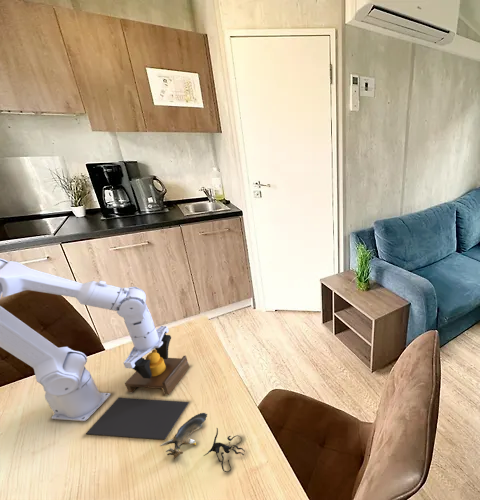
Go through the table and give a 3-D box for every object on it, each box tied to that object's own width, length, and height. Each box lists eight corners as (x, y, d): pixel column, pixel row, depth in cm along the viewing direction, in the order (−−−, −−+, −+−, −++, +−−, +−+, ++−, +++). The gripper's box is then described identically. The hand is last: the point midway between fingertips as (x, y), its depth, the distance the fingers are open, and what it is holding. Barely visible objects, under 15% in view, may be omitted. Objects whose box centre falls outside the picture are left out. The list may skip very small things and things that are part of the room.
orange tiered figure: (144, 376, 81) (137, 358, 78) (155, 364, 85) (148, 347, 82) (159, 377, 81) (152, 359, 78) (169, 365, 85) (163, 347, 82)
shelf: (128, 392, 80) (123, 380, 78) (152, 364, 89) (148, 353, 87) (168, 394, 80) (164, 382, 78) (189, 367, 89) (186, 355, 87)
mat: (86, 434, 69) (85, 433, 69) (119, 398, 78) (118, 397, 78) (164, 440, 68) (164, 439, 68) (188, 402, 77) (188, 401, 77)
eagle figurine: (197, 460, 63) (216, 417, 71) (170, 447, 60) (193, 404, 67) (176, 464, 66) (196, 423, 73) (150, 452, 63) (174, 410, 70)
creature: (250, 440, 69) (217, 434, 69) (252, 426, 67) (218, 420, 67) (237, 476, 62) (201, 470, 62) (239, 462, 60) (201, 456, 60)
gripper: (136, 350, 70) (151, 389, 76) (173, 314, 83) (184, 349, 89) (109, 349, 71) (126, 387, 76) (150, 313, 84) (162, 348, 89)
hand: (156, 367), depth 83 cm, fingers open, 6 cm apart
